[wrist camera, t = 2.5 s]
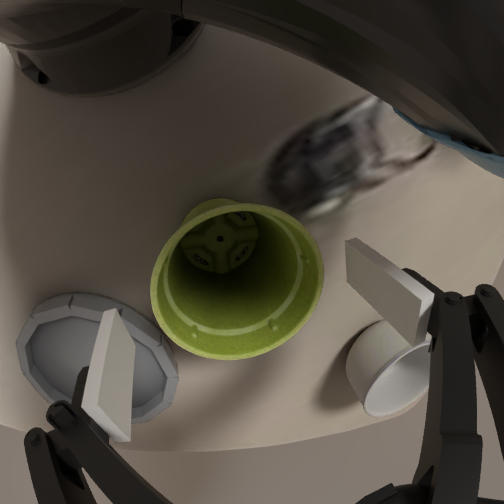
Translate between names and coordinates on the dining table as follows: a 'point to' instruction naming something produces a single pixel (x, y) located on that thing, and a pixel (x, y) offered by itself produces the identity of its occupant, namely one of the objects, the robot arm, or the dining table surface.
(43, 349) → the saucer
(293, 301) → the plant pot
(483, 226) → the dining table surface
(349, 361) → the teacup
